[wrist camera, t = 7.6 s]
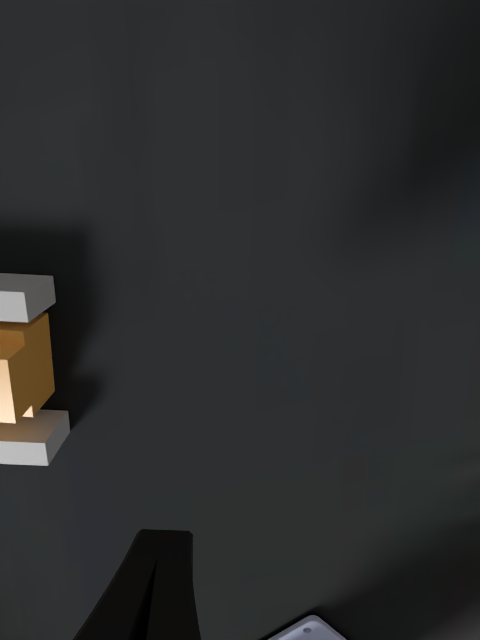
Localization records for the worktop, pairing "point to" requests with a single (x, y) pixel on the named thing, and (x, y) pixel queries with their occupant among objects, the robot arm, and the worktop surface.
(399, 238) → the worktop surface
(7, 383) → the tan stepped block
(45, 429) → the pale green toy truck
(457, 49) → the worktop surface
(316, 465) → the worktop surface
